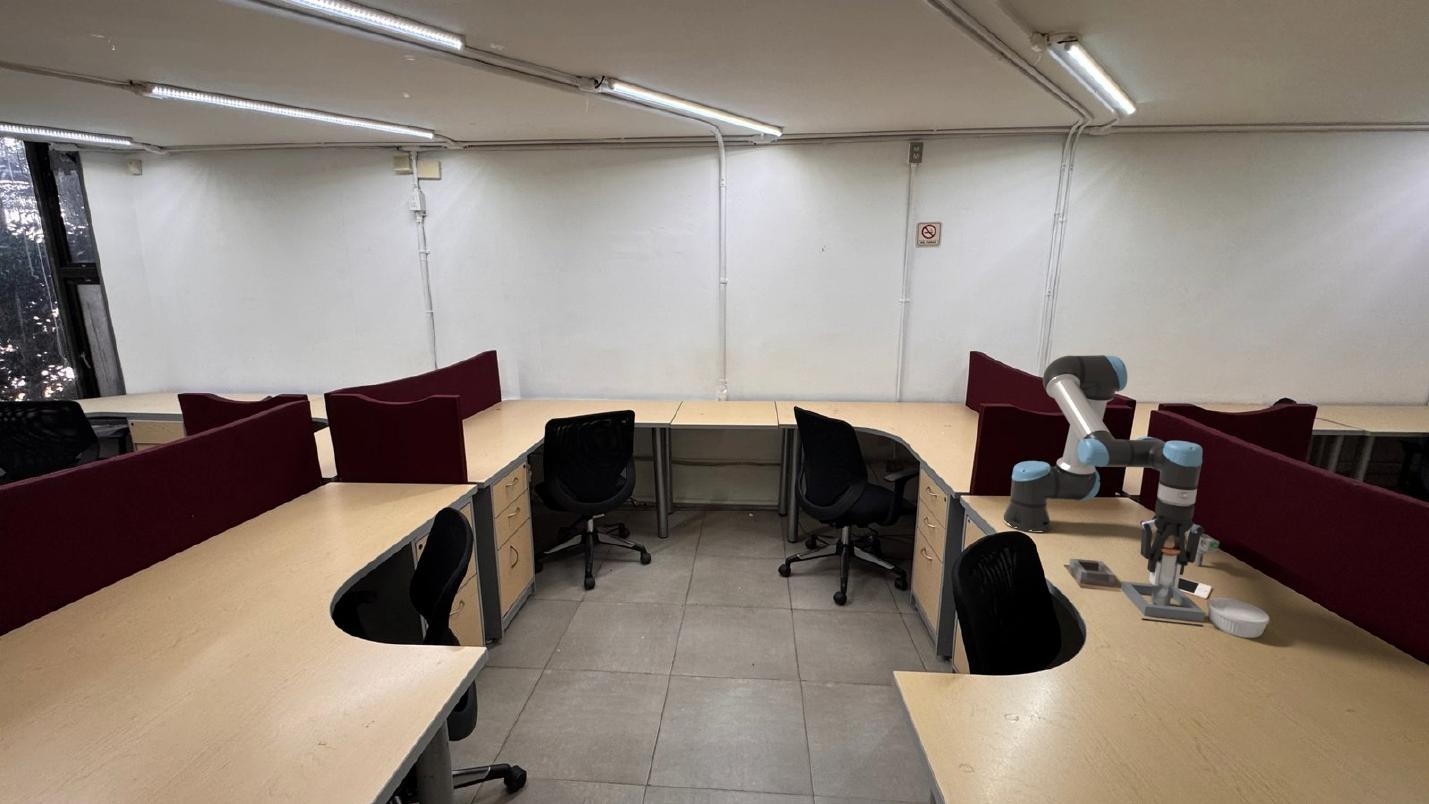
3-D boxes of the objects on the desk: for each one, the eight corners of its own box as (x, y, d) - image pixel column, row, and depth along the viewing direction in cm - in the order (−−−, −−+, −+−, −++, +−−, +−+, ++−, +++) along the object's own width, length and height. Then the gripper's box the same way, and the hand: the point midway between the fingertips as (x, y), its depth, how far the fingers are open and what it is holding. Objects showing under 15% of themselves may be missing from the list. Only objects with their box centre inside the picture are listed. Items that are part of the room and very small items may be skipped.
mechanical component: (1190, 557, 173) (1195, 528, 171) (1216, 573, 163) (1222, 543, 161) (1180, 557, 173) (1185, 528, 171) (1206, 573, 163) (1211, 542, 161)
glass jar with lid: (1144, 596, 148) (1152, 541, 145) (1166, 598, 147) (1174, 543, 144) (1154, 606, 143) (1162, 550, 140) (1176, 608, 142) (1185, 552, 139)
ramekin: (1194, 613, 144) (1197, 595, 143) (1243, 617, 141) (1247, 598, 140) (1224, 639, 133) (1227, 619, 132) (1278, 643, 131) (1282, 624, 130)
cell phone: (1206, 601, 150) (1206, 598, 149) (1126, 576, 163) (1127, 574, 163) (1211, 589, 155) (1212, 586, 155) (1134, 567, 169) (1134, 564, 168)
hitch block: (1062, 569, 168) (1064, 554, 167) (1099, 572, 165) (1101, 557, 164) (1080, 592, 154) (1082, 576, 153) (1120, 596, 152) (1122, 580, 151)
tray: (1120, 594, 153) (1122, 581, 152) (1174, 599, 150) (1176, 586, 149) (1143, 620, 141) (1145, 606, 140) (1202, 626, 138) (1205, 612, 137)
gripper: (1144, 504, 138) (1133, 587, 142) (1224, 509, 134) (1209, 595, 138) (1130, 493, 145) (1120, 573, 150) (1205, 498, 141) (1192, 580, 145)
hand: (1163, 583), depth 144 cm, fingers closed on glass jar with lid, 4 cm apart
